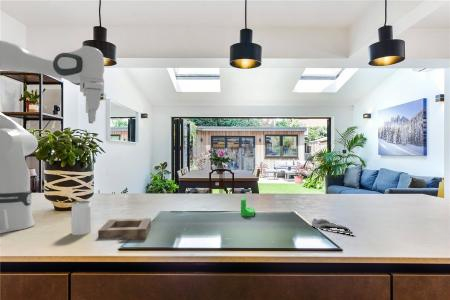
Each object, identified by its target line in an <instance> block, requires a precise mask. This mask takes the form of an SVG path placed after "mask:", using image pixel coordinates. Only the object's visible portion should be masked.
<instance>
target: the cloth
mask: <svg viewBox="0 0 450 300" xmlns="http://www.w3.org/2000/svg"><path fill="white" fill-rule="evenodd" d="M329 221H330V220H327V219H324V218H319V219H317V218H313V219H312V221H311V224H312V226H313V227H316V228H319V229H326V230H331V231H337V232H343V233H349V234H351V233H352V232H350V231H351V229H350V228H348V227H346V226H343V225H342V224H337V223H336V224H337V225H336V224H334V223H330V222H329ZM312 226H311V227H312ZM313 227H312V228H313ZM330 228H337V229H345V230H346V231H340V230H332V229H330ZM319 229H318V230H319ZM347 230H349V231H347Z"/></svg>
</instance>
